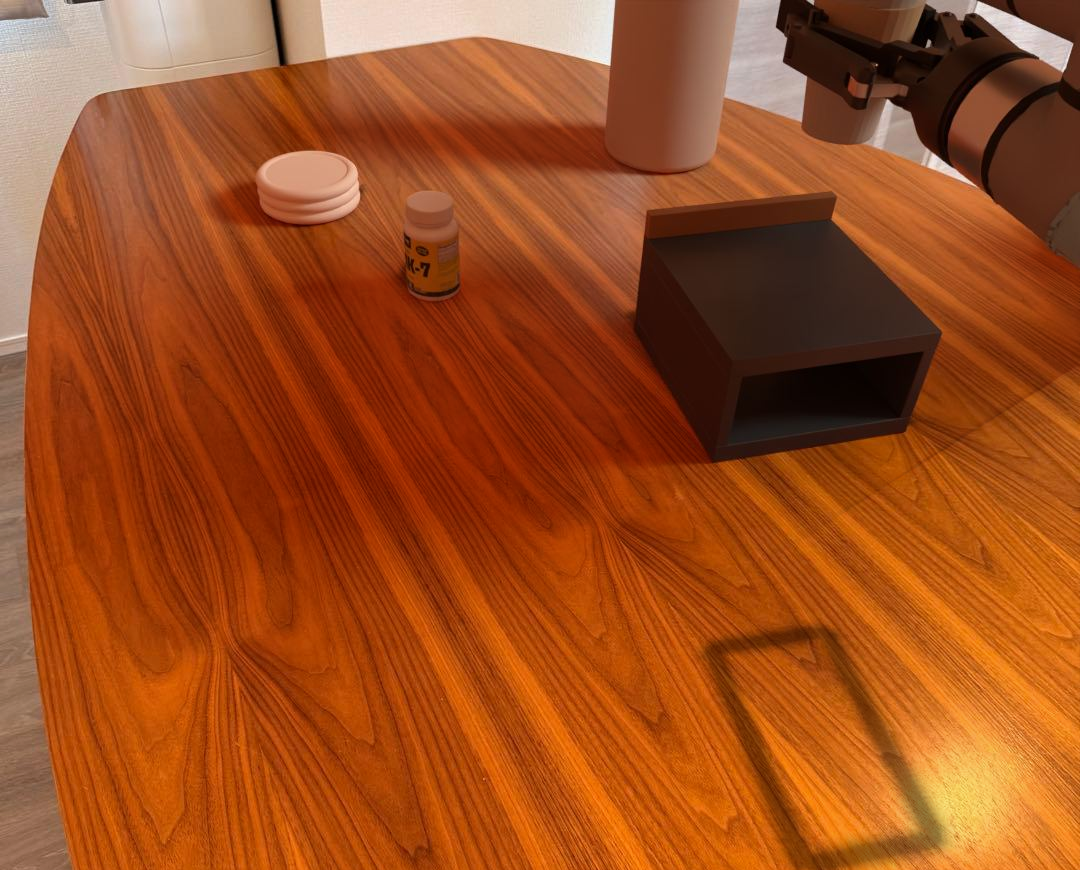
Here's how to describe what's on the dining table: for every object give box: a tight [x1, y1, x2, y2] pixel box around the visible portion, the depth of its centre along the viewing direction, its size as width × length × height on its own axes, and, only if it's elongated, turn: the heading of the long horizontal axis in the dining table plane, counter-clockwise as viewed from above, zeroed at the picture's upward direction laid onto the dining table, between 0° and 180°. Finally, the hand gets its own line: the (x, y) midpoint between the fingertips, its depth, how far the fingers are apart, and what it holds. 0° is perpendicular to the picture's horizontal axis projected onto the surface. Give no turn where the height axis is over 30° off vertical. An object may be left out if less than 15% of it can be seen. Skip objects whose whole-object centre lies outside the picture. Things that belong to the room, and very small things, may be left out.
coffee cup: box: [801, 0, 928, 146], centre depth 75 cm, size 9×9×15 cm
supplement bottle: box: [402, 189, 461, 302], centre depth 85 cm, size 5×5×8 cm
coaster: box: [254, 150, 361, 226], centre depth 97 cm, size 10×10×4 cm
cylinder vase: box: [604, 0, 740, 174], centre depth 101 cm, size 12×12×25 cm
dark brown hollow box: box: [633, 190, 944, 463], centre depth 75 cm, size 18×16×11 cm
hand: (834, 5), depth 77 cm, fingers closed on coffee cup, 8 cm apart
